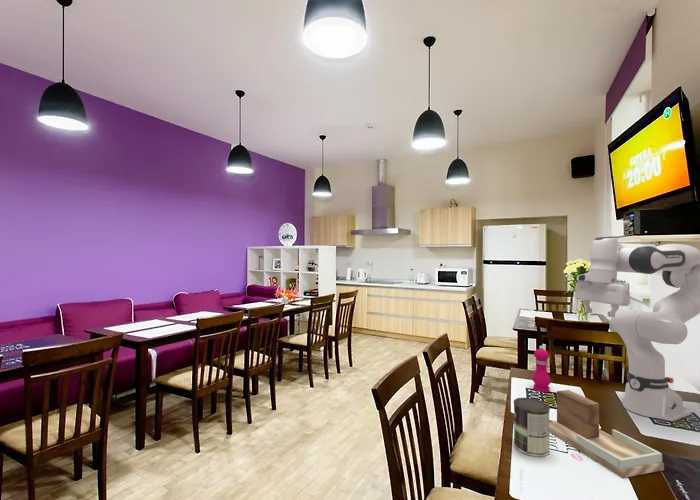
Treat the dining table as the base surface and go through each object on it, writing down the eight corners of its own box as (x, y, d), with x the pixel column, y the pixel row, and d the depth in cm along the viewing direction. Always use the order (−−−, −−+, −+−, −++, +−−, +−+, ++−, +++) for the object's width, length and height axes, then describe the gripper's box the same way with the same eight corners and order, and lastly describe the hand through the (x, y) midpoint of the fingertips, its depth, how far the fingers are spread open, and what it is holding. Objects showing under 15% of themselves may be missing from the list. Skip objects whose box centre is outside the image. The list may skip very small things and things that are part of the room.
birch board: (577, 423, 131) (577, 417, 131) (664, 470, 103) (663, 463, 103) (542, 428, 128) (542, 422, 128) (622, 477, 99) (622, 470, 99)
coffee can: (509, 449, 114) (509, 404, 114) (518, 436, 122) (518, 394, 122) (546, 461, 107) (546, 414, 107) (552, 446, 115) (552, 402, 115)
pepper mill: (553, 393, 159) (552, 348, 159) (535, 392, 160) (535, 347, 160) (547, 387, 166) (547, 344, 166) (530, 386, 167) (530, 343, 167)
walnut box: (568, 420, 129) (568, 389, 129) (599, 437, 117) (598, 403, 117) (556, 422, 128) (556, 391, 128) (586, 439, 116) (586, 405, 116)
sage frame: (614, 436, 118) (614, 429, 118) (662, 462, 104) (662, 453, 104) (576, 442, 114) (576, 434, 114) (621, 469, 100) (621, 460, 100)
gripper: (636, 281, 127) (633, 320, 127) (585, 277, 147) (583, 311, 147) (622, 279, 126) (619, 319, 125) (573, 276, 146) (570, 310, 145)
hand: (599, 314), depth 136 cm, fingers open, 8 cm apart
